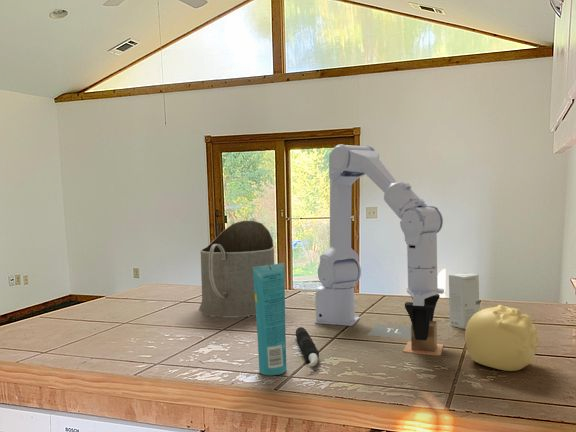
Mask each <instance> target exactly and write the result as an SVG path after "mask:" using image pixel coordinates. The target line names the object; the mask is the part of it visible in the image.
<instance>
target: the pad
mask: <svg viewBox="0 0 576 432" xmlns="http://www.w3.org/2000/svg"><path fill="white" fill-rule="evenodd" d="M443 349H444V343H437V347H436V350H435V352H429V351H418V350H412V348H411V341H410V340H408V342H407V343H406V345H405V347H404V349H403V351H402V352H403V353H410V354H418V355H419V354H420V355H428V356H429V355H430V356H440V357H441V355H442V351H443Z"/></svg>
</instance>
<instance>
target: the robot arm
mask: <svg viewBox="0 0 576 432" xmlns="http://www.w3.org/2000/svg"><path fill="white" fill-rule="evenodd" d="M328 161H329V163H328V167H329V168H328V177H329V247H328V248H327V249H326V250H325V251H324V252H322V253H321V254H320V256H319V264H318V268H317V278H318V280H319V282H320V284H321V285H318V286H317V288H316V291H315V321H314V323H315V324H321V325H333V326H335V325H337V326H349V327H351V326H352V327H353V325H354V324H356V323H357V321H358V320H360V316H356V313H355V312H356V311H355V310H356V309H355V308H356V306H355V287H356V286H357V284H358V283H357V282H359V280H360V279H361V276H362V267H361V265H360V260H359V258H360V257H359V254H358V253H357V252H356V251H355V250H354V249H353V248H352V192H353V190H352V188H353V187H352V186H353V184H354V183H355V182H356V181H358V180H359V179H360V178H362V177H364V176H365V175H366V177H368V178H369V179H370V180H371V181H372V183H374V184H375V185H376V186H377V187H378V188H379V189H380V190H381V191H382V192H383V200H384V202H385V203H386V204H387V205H388V207H389V208H390V209H391V210H392V211H393V213H394V214H395V215H396V217H398V218H399V220H400V221H399V225H400V228H401V231H402V233H403V235H404V242H405V245H406V246H407V247H406V250H407V255H406V257H407V259H406V260H407V288H406V293H408V295H409V296H410V297H411V298H412V302H410V301H406V302H404V309H405V310H406V312H407V313H408V316H409V319H410V321H411V324H412V327H413V332H414V336H415V339H416V340H427V337H428V332H429V324H430V321H434V316H435V314H434V313H435V310H436V306H437V302H438V301H439V299H440V295H442V294H444V293H445V288H439V286H438V285H439V283H438V240H437V239H438V238H437V237H438V236H437V234H438V233H439V232H440V231H441V230H442V228H443V225H444V218H443V215H442V213H441V211H440V210H439V208H438V207H436V206H435V205H428V204H427V203H426V201H424V199H422V198H420V197H419V196H418V195H417V194H416V193H415V191H413V189H412V186H411V185H410V183H408V182H404V181H398V182H397V180H396V179H395V178H394V177H393V175H392V174H391V173H390V171H389V170H388V168H387V167H386V166H385V165H384V164H383V162H382V161H381V160H380V153H379V152H378V151H376V150H375V148H374V147H373V146H371V145H348V144H337V145H335V146H334V147H333V148H332V150H331V151H330V153H329V155H328Z"/></svg>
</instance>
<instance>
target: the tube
mask: <svg viewBox="0 0 576 432" xmlns="http://www.w3.org/2000/svg"><path fill="white" fill-rule="evenodd" d="M285 270H286V269H285V263H284V262H281V263H280V262H279V263H276V264H275V263H274V265H267V266H257V267H253V279H254V293H255V306H256V316H255V318H256V332H257V334H256V335H257V336H256V337H257V351H258V353H257V354H258V368H259V369H258V371H259V374H260V375H264V376H278V375H282V374H284V373H285V372H286V371H287V343H286V342H287V341H286V339H287V337H286V335H287V334H286V292H285V291H286V287H285V285H286V284H285V281H286V280H285V279H286V278H285V276H286V273H285Z"/></svg>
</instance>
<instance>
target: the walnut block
mask: <svg viewBox="0 0 576 432" xmlns="http://www.w3.org/2000/svg"><path fill="white" fill-rule="evenodd" d="M410 326H411V339H410V340H411V348H412V350H418V351H429V352H435V350H436V347H437V344H438V342H437V341H438V336H437V333H438V332H437V320H433V321H430V324H429V332H428V337H427V340H416V339H415V336H414V332H413V327H412V323H411V325H410Z"/></svg>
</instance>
